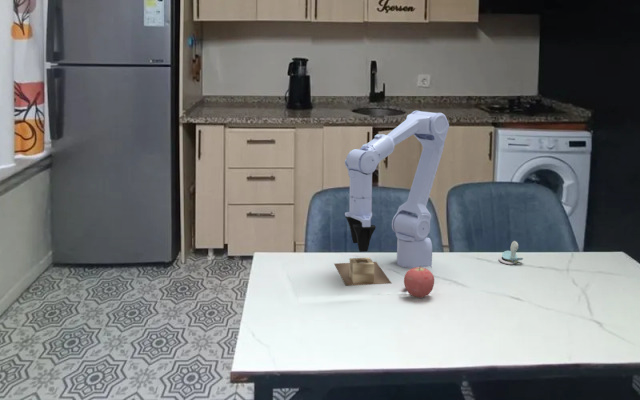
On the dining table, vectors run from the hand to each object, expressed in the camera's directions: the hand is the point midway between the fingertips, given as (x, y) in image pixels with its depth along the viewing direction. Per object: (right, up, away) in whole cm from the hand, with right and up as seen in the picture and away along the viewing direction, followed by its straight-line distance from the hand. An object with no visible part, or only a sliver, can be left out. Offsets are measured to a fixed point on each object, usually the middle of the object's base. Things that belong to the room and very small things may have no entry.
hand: (360, 246), depth 176 cm
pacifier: (+45, -6, +19) cm, 49 cm away
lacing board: (+1, -9, +5) cm, 10 cm away
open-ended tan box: (0, -9, 0) cm, 9 cm away
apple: (+14, -12, -8) cm, 20 cm away
